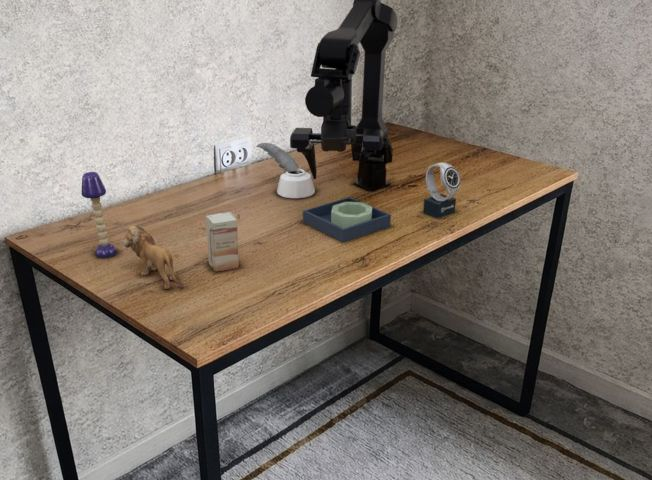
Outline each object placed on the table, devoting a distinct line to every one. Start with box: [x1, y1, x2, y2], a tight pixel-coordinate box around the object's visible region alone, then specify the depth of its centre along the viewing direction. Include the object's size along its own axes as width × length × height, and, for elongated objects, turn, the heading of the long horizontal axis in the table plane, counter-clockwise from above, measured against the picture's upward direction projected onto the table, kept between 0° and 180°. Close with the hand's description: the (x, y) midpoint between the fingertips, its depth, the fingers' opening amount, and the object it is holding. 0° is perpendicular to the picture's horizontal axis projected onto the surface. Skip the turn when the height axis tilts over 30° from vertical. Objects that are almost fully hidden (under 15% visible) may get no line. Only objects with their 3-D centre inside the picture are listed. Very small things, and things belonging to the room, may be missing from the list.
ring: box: [331, 201, 373, 229], centre depth 165 cm, size 8×8×3 cm
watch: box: [422, 161, 462, 219], centre depth 168 cm, size 6×8×11 cm
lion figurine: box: [120, 225, 185, 290], centre depth 143 cm, size 15×5×9 cm, turn 50°
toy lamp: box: [81, 171, 118, 259], centre depth 151 cm, size 5×5×17 cm
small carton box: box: [205, 211, 240, 272], centre depth 147 cm, size 5×4×10 cm
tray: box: [302, 196, 392, 243], centre depth 165 cm, size 14×13×3 cm
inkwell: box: [256, 142, 316, 200], centre depth 183 cm, size 9×18×10 cm, turn 48°
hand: (336, 179), depth 162 cm, fingers open, 9 cm apart
